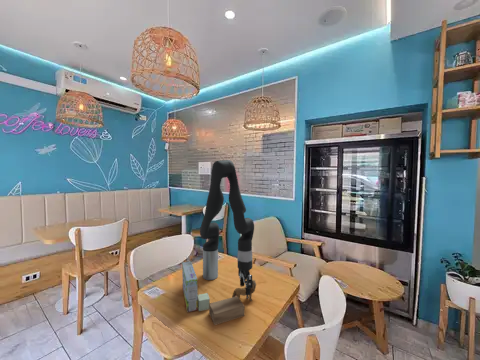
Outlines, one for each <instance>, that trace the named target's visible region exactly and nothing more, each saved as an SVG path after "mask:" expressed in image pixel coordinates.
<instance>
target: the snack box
mask: <svg viewBox="0 0 480 360" xmlns="http://www.w3.org/2000/svg"><path fill="white" fill-rule="evenodd" d="M181 266H182V267H181V268H182V269H181V270H182V292H183V297H184V304H185V309H186V313H190V312H195V311H199V309H198V295H199V294H198V290H199V289H198V277H197V274H196V272H195V269H194V266H193V261H183V262H181Z"/></svg>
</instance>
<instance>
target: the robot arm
mask: <svg viewBox="0 0 480 360" xmlns="http://www.w3.org/2000/svg"><path fill="white" fill-rule="evenodd" d="M235 166H236V165H235V164H234V163H233V161H232V160H230V159H224V160H216V161H214V162H213V163H212V166H211V171H210V173H211V175H210V184H209V190H208V196H207V199H206V204H205V205H206V206H205V211H204V215H203V218H202V220H201V225H200V228H199V234H200V238H202V240H208V239H209V240H208V241H206V242H205V243H203V246H202V278H203V279H204V280H206V281H211V280H216V279H217V278H218V277H219V243H220V242H219V241H220V240H219V239H220V227H219V226H220V225H219V224H218V223H217V222H212V221H213V220H214V219H215V218H216V217H217V216H218V215H219V213H220V212H221V210H222V209H223V205H224V201H225V196H224V194H223V192H222V189H221V182H222V179H224V178H227V180H228V183H229V192H228V203H229V206H230V209H231V212H232V217H233V225H234V229H235V230H236V232H237V233H238V234H240V236H239V238H238V240H237V256H236V257H237V269H238V272H237V273H238V277H239V286H240V288H243V287H246V295H248V296H249V295H250V288H253V284H252V280H253V275H252V274H251V272H250V271H251V270H252V269H253V238H254V232H255V224H254V221H253V219H252V218H250V217H245V213H246V212H247V208H246V204H245V203H244V200H243V199H244V198H243V196H242V193H241V190H240V186H239V180H238V176H237V175H238V174H237V172H236V171H237V170H236V167H235ZM246 295H245V296H246Z"/></svg>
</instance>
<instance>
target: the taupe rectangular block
mask: <svg viewBox="0 0 480 360" xmlns="http://www.w3.org/2000/svg"><path fill="white" fill-rule="evenodd" d="M208 312H209V313H208V314H209V317H210V318H211V320H212V323H213V326H216V325H221V324H223V323H226V322H229V321H233V320H236V319H239V318H243V317H245V304H244V303H243V302H242V300H241V299H240V298H238V296H235V297H232V296H231V297H229V298H225V299H222V300H221V299H220V300H217V301H213V302H210V303H209V309H208Z"/></svg>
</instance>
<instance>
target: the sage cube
mask: <svg viewBox="0 0 480 360" xmlns="http://www.w3.org/2000/svg"><path fill="white" fill-rule="evenodd" d="M210 300H211V298H210V296H209V293H208V292H206V293H201V294H200V293H199V294H198V312H201V311H206V310H209V303H211V302H210Z"/></svg>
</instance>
